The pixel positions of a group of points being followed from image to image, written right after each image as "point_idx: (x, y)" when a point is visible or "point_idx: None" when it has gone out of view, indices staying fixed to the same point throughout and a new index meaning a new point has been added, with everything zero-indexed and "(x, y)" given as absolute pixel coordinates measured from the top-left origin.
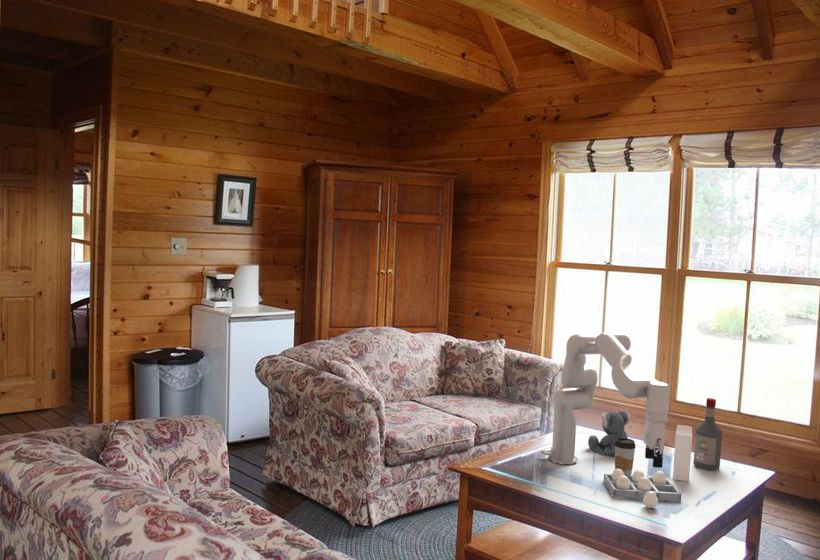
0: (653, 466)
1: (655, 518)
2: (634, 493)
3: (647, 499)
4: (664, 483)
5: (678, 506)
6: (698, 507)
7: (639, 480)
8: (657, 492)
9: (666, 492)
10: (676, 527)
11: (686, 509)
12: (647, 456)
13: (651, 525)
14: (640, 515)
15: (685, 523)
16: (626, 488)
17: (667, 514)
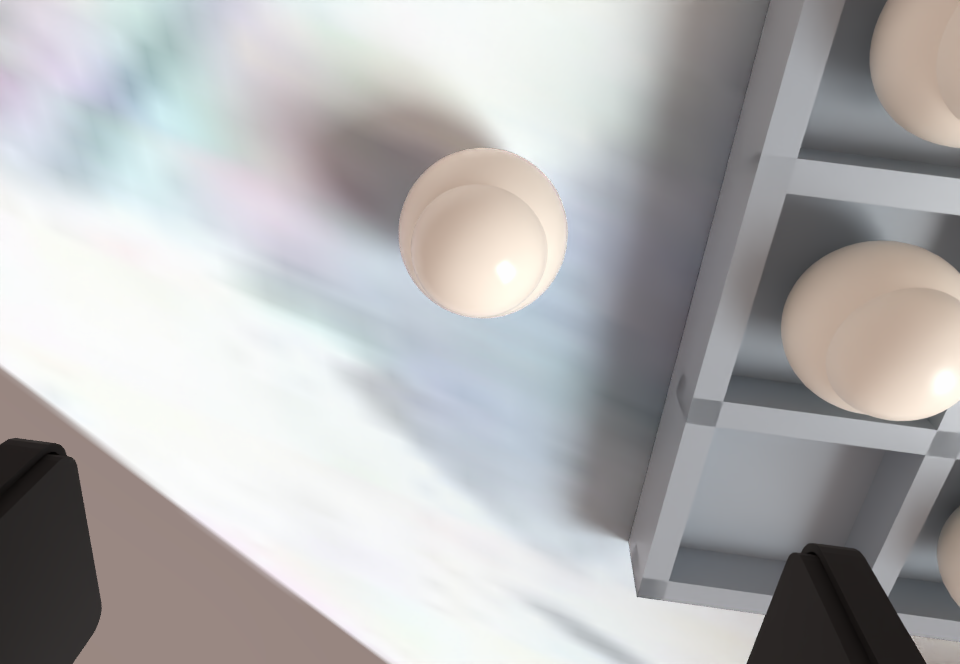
0: (4, 446)
1: (205, 149)
2: (755, 137)
3: (427, 182)
4: (940, 572)
5: (525, 480)
6: (508, 609)
7: (940, 295)
8: (692, 401)
9: (686, 488)
10: (39, 264)
11: (461, 511)
12: (797, 620)
13: (8, 26)
14: (254, 4)
15: (153, 378)
16: (870, 55)
17: (328, 310)
